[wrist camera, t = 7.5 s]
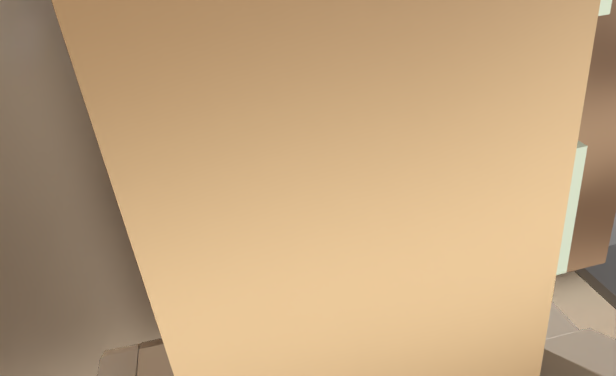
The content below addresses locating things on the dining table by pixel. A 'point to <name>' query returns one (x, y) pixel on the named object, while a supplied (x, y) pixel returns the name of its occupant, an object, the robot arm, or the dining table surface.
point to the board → (597, 152)
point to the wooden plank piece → (340, 175)
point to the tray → (604, 272)
